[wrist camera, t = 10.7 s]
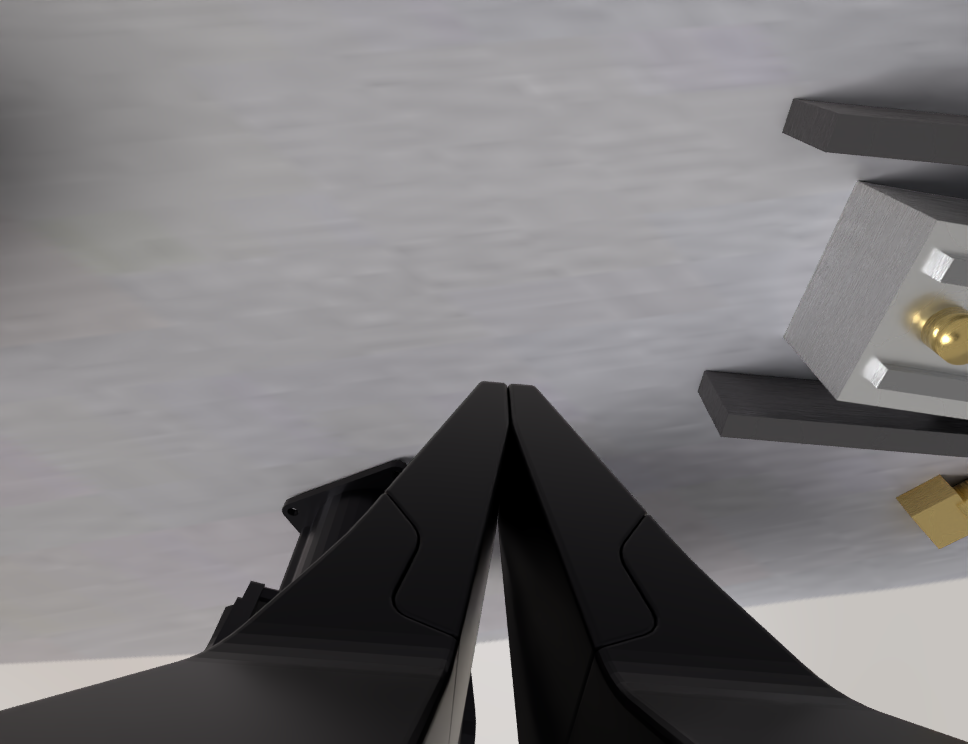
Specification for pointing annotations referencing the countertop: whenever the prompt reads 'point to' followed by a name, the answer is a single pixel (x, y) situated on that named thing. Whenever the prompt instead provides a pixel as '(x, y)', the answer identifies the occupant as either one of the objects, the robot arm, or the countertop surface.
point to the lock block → (891, 303)
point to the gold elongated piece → (939, 509)
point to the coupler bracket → (807, 403)
